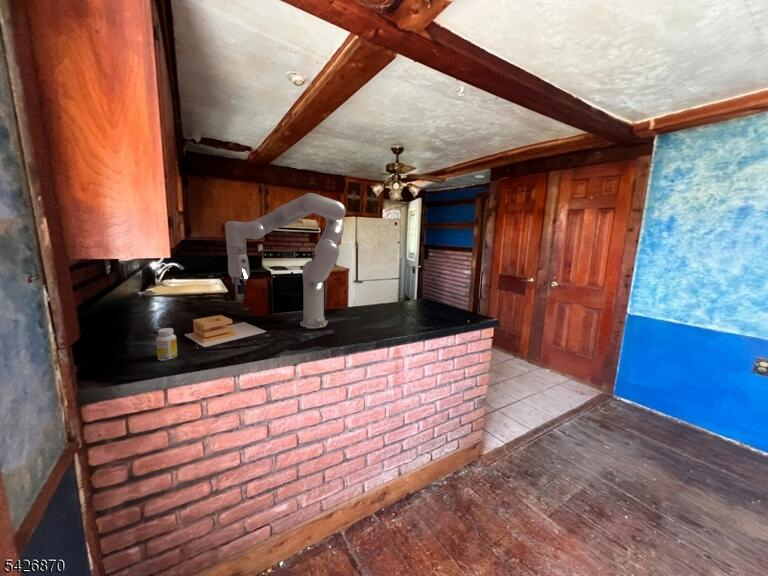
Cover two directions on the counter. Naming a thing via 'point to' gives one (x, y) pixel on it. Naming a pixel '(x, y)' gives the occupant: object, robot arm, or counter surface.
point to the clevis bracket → (212, 328)
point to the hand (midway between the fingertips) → (239, 292)
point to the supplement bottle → (166, 344)
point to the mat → (241, 332)
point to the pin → (238, 296)
